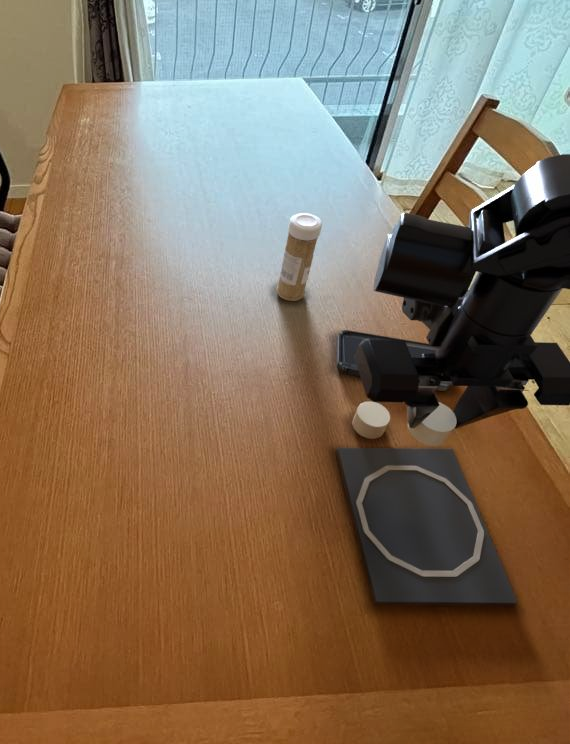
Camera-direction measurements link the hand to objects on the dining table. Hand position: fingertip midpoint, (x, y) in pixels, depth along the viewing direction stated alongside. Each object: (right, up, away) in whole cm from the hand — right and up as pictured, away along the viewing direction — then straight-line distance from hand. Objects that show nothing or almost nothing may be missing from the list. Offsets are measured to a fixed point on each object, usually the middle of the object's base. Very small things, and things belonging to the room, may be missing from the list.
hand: (431, 424), depth 57 cm
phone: (+4, +6, +21) cm, 22 cm away
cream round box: (-2, -2, +13) cm, 13 cm away
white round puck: (0, -1, +1) cm, 1 cm away
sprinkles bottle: (-8, +17, +31) cm, 36 cm away
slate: (0, -11, +4) cm, 12 cm away
